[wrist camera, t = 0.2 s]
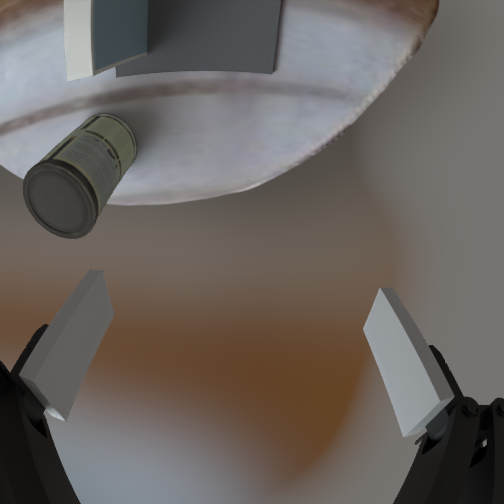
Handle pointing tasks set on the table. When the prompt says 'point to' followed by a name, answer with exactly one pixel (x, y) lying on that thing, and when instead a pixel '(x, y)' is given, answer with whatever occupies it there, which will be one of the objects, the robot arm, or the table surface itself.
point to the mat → (208, 37)
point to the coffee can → (79, 176)
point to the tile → (103, 34)
